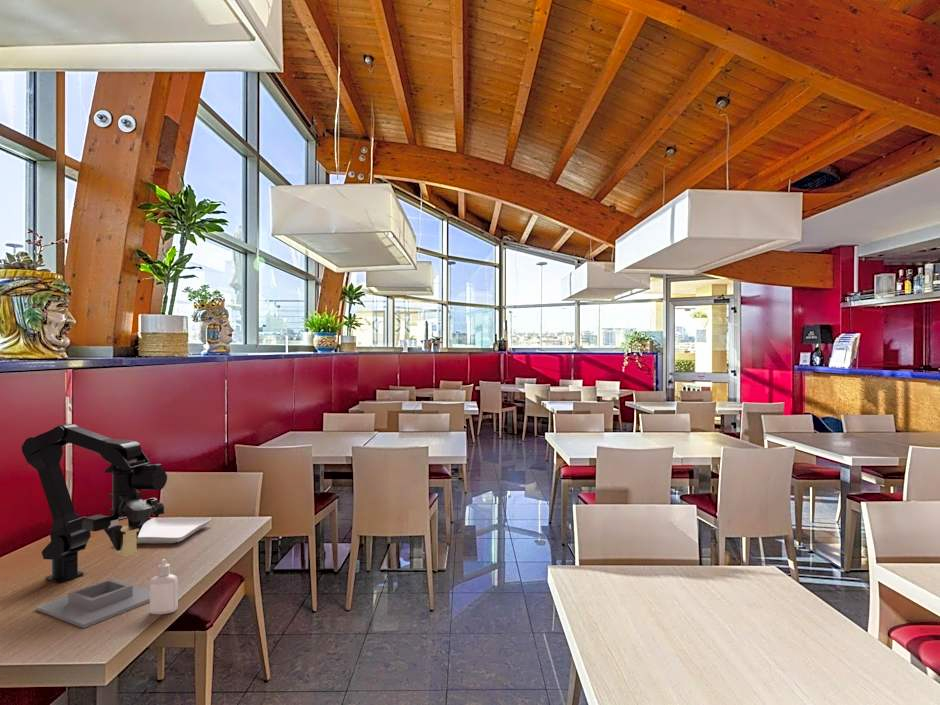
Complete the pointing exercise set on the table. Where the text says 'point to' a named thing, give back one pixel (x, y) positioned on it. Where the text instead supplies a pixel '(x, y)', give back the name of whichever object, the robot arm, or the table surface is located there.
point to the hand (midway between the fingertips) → (125, 548)
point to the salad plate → (170, 529)
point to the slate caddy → (96, 602)
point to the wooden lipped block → (127, 541)
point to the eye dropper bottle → (163, 591)
